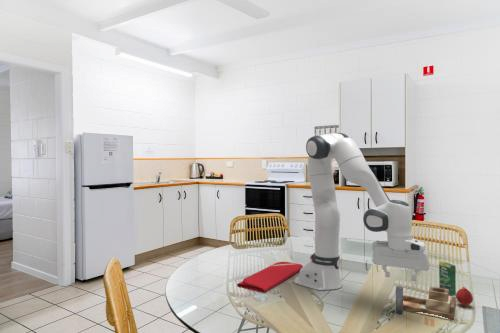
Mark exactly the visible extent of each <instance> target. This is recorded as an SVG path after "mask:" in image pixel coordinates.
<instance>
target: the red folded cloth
mask: <svg viewBox="0 0 500 333" xmlns="http://www.w3.org/2000/svg"><path fill="white" fill-rule="evenodd" d="M302 267H304V265H303V264H300V263H296V262H290V261H279V262H275V263H273V264H271V265H270V266H267V267H265V268H263V269H261V270H259V271H258V272H255V273H254V274H252V275H249V276H247V277H245V278H244V279H243V280H242V281H240V282H238V283H237V284H236V286H237V288H242V289H247V290H251V291H255V292H258V293H262V294H264V293H267V292H268V291H270V290H272V289H273V288H275V287H277V286H278V285H280V284H281V283H284V282H285V281H286V280H288V279H289V278H290V277H292V276H294V275H295V274H297V273H298V272H300V270H301V268H302Z"/></svg>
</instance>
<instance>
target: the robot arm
mask: <svg viewBox="0 0 500 333" xmlns="http://www.w3.org/2000/svg"><path fill="white" fill-rule="evenodd" d="M305 144H306V145H305V149H306V150H305V151H306V153H307V155H308V156H307V157H308V158H307V170H308V177H309V184H310V185H309V186H310V190H311V196H312V202H313V209H314V215H315V218H314V220H315V222H314V223H315V224H314V227H315V228H314V235H315V236H314V252H313V254H311V255H310V257H309V259H310V262H308V263H306V264H305V265H303V267H302V268H301V269H300V270H299V271H298V272H299V273H298V276H296V277H295V278H294V280H293V283H294V284H295V285H300V286H302V287H303V286H304V287H306V288H310V289H313V290H316V291H325V290H337V289H340V288H342V287H343V284H342V279H341V274H340V267H341V259H340V257H341V256H340V253H339V252H340V251H339V250H340V249H339V247H340V244H339V242H340V224H341V214H340V211H339V209H338V204H337V203H338V202H337V195H336V187H335V182H334V181H335V180H334V175H333V174H334V173H333V167H332V160H333V159H335V161H336V164H337V165H338V167H339V169H340V172H341V175H342V176H343V177H344V178H345V180H346V181H347V182H350V183H352V184H354V185H356V186H359V187H361V188H363V189H364V190H365V191H366V192H367V194H368V195H369V197H370V199H371V201H372V202H373V204H374V205H375V207H372V208H370V209H368V210H366V211H365V212H364V214H363V216H362V218H363V219H362V220H363V224H364V226H365V228H366V229H367V230H368V231H369V232H370V231H371V232H372V233H373V232H374V233H379V232H380V233H381V232H386V235H387V236H386V237H387V240H385V241H384V240H376V241H373V242H372V243H371V249H372V258H371V259H372V263H373V264H374V265H378V266H381V269H382V270H383V272H384V276H385V278H391V274H390V273H391V272H390V271H388V270H387V267H392V268H393V267H394V268H402V269H407V270H414V274H412V275H411V277H410V278H411V281H412V282H417V276H418V275H419V273H420V271H424V272H425V271H428V270H429V269H430V265H431V264H430V257H429V252H428V251H427V249H426V243H425V242H423V241H421V240H418V239H416V238H414V237H413V233H412V227H413V226H412V225H413V217H412V209H411V205H409V203H408V202H406V201H404V200H399V199H390V198H389V196H388V194H387V192H386V191H385V190H384V188H383V186H382V185H381V183H380V181H379V179H378V178H377V176H376V174H374V172H373V171H372V169H371V168H370V166H369V164H368V163H367V160H366V158H365V157H364V154H363V153H362V151H361V149H360V147H359V146H358V145H357V143H356V142H355V140H354V139H352V138H350V137H349V136H348V134H346V133H342V132H335V133H333V132H331V133H330V132H329V133H325V134H321V135H314V136H311V137H309V138H308V139H307V140H306V143H305Z"/></svg>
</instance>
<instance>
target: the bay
mask: <svg viewBox="0 0 500 333" xmlns="http://www.w3.org/2000/svg"><path fill="white" fill-rule="evenodd" d="M456 302H457V298H456V296H451V306H450V314H449V313H444V312H439V311H434V310H429V309H426V308H423V307H420V305H424V306H426V298H421V297H416V296H411V295H405V294H403V312H408V311H411V312H410V313H413V312H423V313H428V314H434V315H438V316H442V317H445V318H448V319H450V320H449V321H451V320H454V321H455V318H456V311H457V308H456V307H457V305H456V304H457V303H456ZM454 317H455V318H454Z"/></svg>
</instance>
